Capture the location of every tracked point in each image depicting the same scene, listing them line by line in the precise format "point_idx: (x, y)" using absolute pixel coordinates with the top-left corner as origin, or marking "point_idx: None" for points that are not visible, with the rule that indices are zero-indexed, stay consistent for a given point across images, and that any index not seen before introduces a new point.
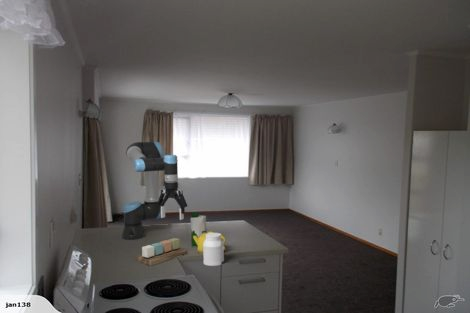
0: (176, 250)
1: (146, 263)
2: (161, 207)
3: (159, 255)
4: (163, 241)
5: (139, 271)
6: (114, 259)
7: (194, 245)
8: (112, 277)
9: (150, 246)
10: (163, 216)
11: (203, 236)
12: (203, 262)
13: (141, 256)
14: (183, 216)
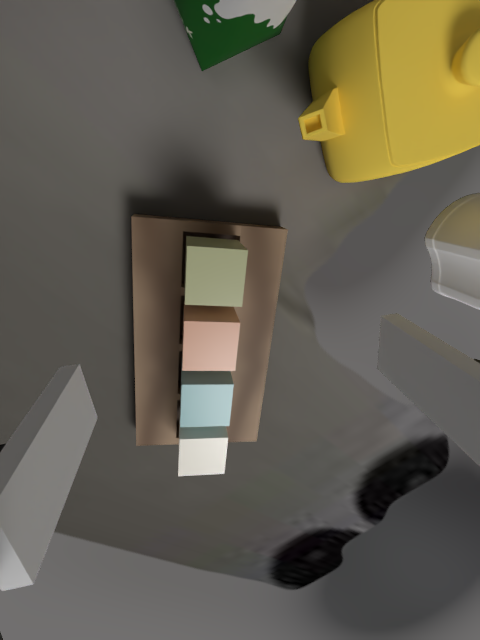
0: None
1: None
2: (29, 569)
3: None
4: (193, 350)
5: (257, 475)
6: None
7: (223, 60)
8: (224, 541)
9: (210, 448)
10: (86, 404)
11: (424, 140)
12: (435, 290)
13: (164, 432)
14: (417, 331)
